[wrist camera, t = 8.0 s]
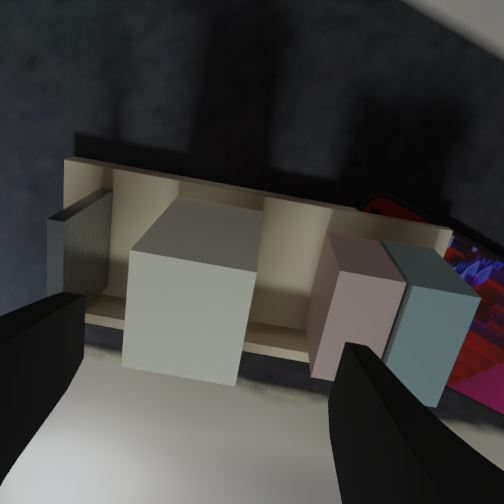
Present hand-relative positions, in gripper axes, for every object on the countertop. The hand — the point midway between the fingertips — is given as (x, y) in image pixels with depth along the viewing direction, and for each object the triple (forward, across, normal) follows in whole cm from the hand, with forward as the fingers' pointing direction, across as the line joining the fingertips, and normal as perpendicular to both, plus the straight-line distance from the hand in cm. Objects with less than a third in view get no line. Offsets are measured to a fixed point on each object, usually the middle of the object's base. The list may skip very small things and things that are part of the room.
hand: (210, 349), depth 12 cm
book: (+9, +1, +1) cm, 9 cm away
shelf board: (+10, -1, +1) cm, 10 cm away
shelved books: (+10, -6, +1) cm, 12 cm away
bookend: (+10, +6, +1) cm, 12 cm away
